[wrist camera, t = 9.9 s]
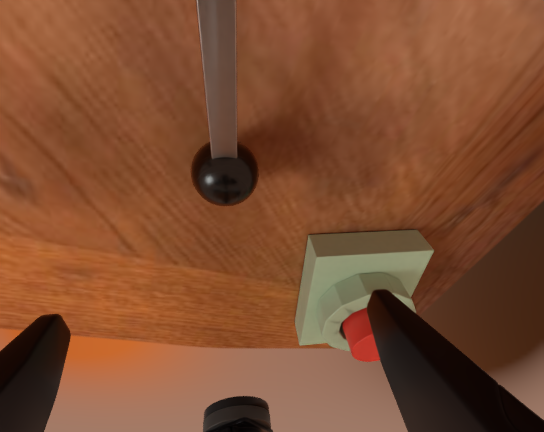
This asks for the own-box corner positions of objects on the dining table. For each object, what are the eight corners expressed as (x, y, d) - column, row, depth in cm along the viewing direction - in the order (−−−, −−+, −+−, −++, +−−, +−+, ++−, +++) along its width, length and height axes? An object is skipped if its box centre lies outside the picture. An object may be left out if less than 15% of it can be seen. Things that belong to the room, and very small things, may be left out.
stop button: (384, 332, 23) (396, 359, 21) (337, 336, 22) (346, 364, 20) (398, 301, 20) (414, 328, 19) (347, 305, 20) (358, 333, 18)
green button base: (380, 314, 28) (401, 357, 24) (294, 322, 27) (304, 367, 23) (417, 229, 22) (451, 270, 18) (308, 234, 21) (324, 279, 17)
